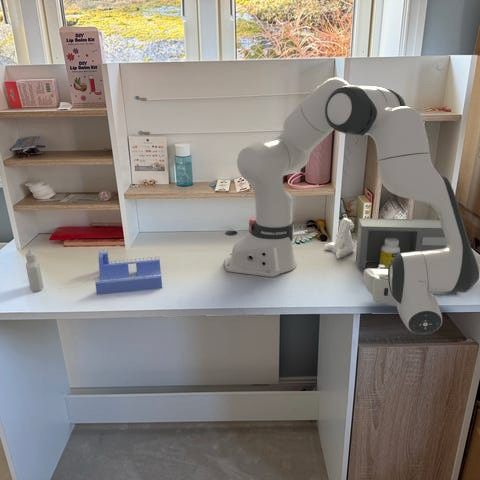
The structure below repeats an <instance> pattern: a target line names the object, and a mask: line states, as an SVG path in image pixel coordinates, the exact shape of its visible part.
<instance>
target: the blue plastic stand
mask: <svg viewBox="0 0 480 480" xmlns="http://www.w3.org/2000/svg"><path fill="white" fill-rule="evenodd" d="M97 256H98V257H97V258H98V268H99V272H98V273H99V280H97V279H96V280H94V281H95V282H94V283H95V290H96V295H97V296H100V295H109V294H111V295H112V294H119V293H128V292H139V291H149V290H160V289H163V282H162V273H161V262H160V257H158V258H157V257H146V259H145V257H144V258H142V260H141V258H138V260H137V258H134V259H132V258H130V259H129V258H128V259H126V261H125V260H121V259H120V260H114V261H115V262H113V261H110V260H109V252H108V250H106V251H105V250H100V251H98V255H97ZM150 258H151V259H150ZM153 258H154V259H153ZM130 260H131V261H130ZM132 264H133V265H134V264H135V266H136V267H135V270H136V277H131V276H130V271H129V269H130V268H129V265H132Z"/></svg>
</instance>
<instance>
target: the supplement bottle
mask: <svg viewBox="0 0 480 480" xmlns="http://www.w3.org/2000/svg"><path fill="white" fill-rule="evenodd" d="M384 244H385V245H383V246H382V248H381V256H380V262H379V264H378V265H384V266H385V269H388V268H389V265H390V263H391V262H392V260H393V259H394V257H395V256H396V255H397V254H399V253H400V248H399V247H398V244H399V240H398V239H396V238H391V237H390V238H385V242H384Z"/></svg>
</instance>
